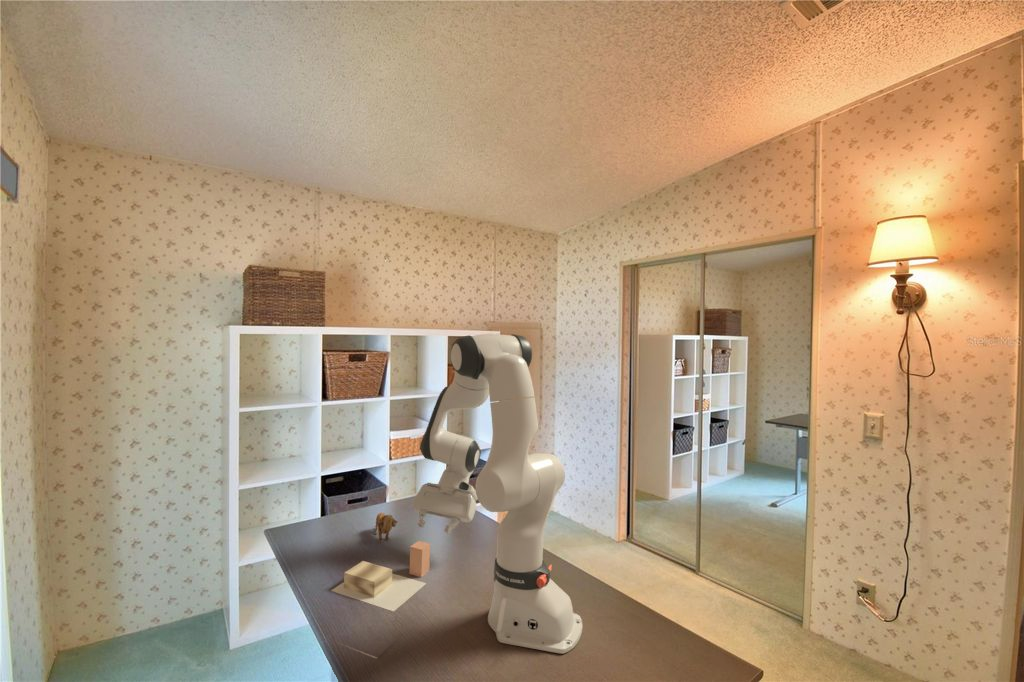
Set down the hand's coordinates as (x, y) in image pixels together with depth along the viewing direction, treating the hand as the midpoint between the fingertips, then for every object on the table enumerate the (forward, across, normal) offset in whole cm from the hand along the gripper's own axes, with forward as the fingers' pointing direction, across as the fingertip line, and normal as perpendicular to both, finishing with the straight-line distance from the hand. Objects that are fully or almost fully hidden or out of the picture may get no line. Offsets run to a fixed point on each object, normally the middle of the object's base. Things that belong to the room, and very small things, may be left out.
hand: (433, 529), depth 135 cm
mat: (+19, -5, -5) cm, 21 cm away
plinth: (+20, -8, -6) cm, 22 cm away
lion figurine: (+2, -24, +12) cm, 27 cm away
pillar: (+12, 0, +2) cm, 12 cm away
